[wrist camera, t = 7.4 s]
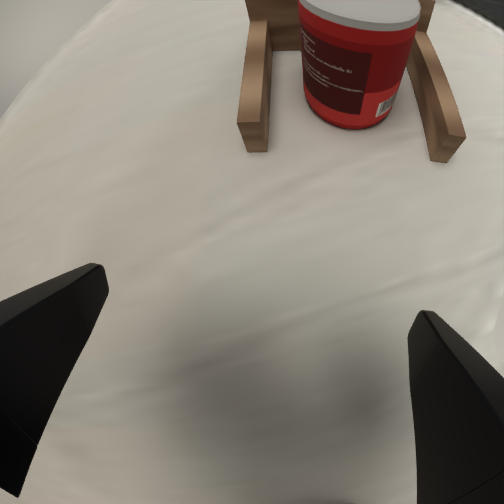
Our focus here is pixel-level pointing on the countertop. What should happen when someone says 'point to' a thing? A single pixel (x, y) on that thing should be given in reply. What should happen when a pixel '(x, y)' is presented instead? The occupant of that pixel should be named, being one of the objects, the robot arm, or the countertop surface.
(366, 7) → the canned food
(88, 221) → the countertop surface
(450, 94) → the cradle
